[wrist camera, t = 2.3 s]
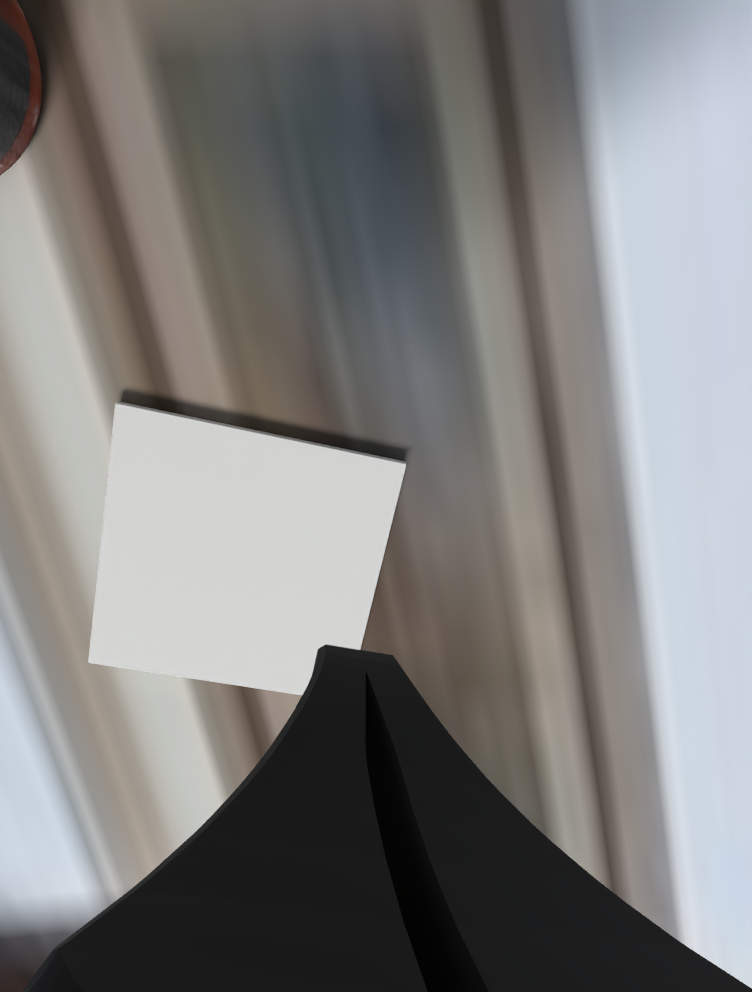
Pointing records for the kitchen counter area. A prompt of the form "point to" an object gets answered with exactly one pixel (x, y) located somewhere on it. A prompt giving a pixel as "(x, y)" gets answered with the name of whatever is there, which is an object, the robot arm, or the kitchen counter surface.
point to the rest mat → (235, 550)
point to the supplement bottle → (17, 84)
